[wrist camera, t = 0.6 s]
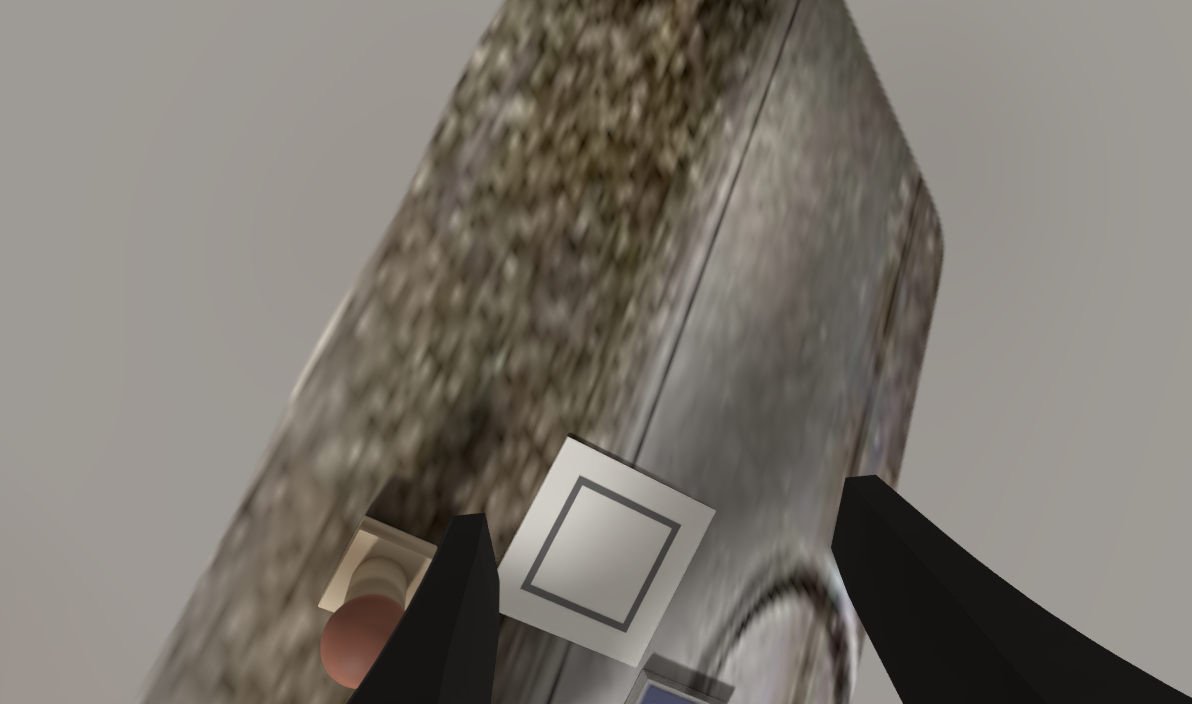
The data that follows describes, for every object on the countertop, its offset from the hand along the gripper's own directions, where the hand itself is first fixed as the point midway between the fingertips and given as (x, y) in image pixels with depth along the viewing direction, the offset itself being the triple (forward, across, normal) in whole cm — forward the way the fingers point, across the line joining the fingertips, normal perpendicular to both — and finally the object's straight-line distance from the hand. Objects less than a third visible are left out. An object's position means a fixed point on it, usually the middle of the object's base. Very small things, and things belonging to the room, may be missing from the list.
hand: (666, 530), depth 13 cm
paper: (+15, +1, +18) cm, 24 cm away
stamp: (+14, +12, +16) cm, 24 cm away
